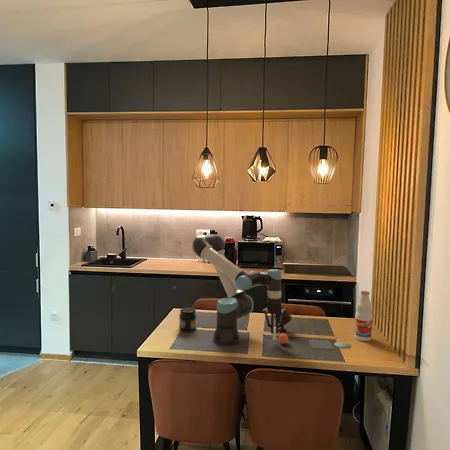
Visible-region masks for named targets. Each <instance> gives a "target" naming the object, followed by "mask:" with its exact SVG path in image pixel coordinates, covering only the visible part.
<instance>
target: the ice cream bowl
mask: <svg viewBox="0 0 450 450" xmlns="http://www.w3.org/2000/svg"><path fill="white" fill-rule="evenodd" d="M282 308H283V309H285V310H286V313H285V314H284V318H283V322H282V326H281V327H279V328H278V333H283V332H284V333H287V331H288V329H286V328H285V325H288V324H289V323H290V322H291V321H292V318H293V316H292V315H291V314H289V311H288V310H287V309H286V308H285V307H282ZM281 311H282V310H281ZM281 311H280V313H279V314H278V324H279V322H280V318H281V314H282V312H281ZM273 320H274V321H276V315H275V314H274V316H273Z"/></svg>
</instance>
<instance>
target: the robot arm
mask: <svg viewBox="0 0 450 450" xmlns="http://www.w3.org/2000/svg"><path fill="white" fill-rule="evenodd" d="M225 245H226V242H225V240H224V237H222V236H221V235H220V234H216V233H211V234H202V235H201V234H200V235H198V236H197V237H195V238H194V239H193V241H192V245H191V246H192V251H193V253H195V255H196V256H198V258H200V259H201V260H205V261H207V262H208V263H210V264H211V265H212V266H213V267H214V269H215V271H216V273H217V275H218V278H219V280H220V282H221V284H222V286H223V288H224V291H225V293H226V295H227V297H223V298H221V299H219V300H218V301H217V303H216V328H215V331H214V333H213V336H212V341H213V342H214V343H215V344H218V345H219V346H220V345H221V346H235V345H237V344H239V343H240V342H241V340H240V339H241V337H240V333H239V329H238V320H239V319H241V318H243V317H247V316H248V315H250V314H251V313H252V312H253V310H254V306H255V305H254V304H255V303H254V299H253V298H252V297H251V295H250V296H249V295H248V294H246V292H245V291H246V290H249V289H252V288H255V287H258V286H265V287H267V306H266V308H263V309H262V313H264V315H265V319H266V324H267V327H268V328H270V333H271V334H272V340H273V341H277V335H278V334H279V332H278V329H280V328H281V326H282V322H283V318H284V314H285V313H286V310H287V309H286V308H285V309H286V310H285V309H283V308H282V279H283V278H282V271H281V270H280V269H276V268H275V269H274V268H271V269H268V270H267V272H266V271H265V272H264V271H259V270H251V271H250V272H245V271H244V270H243V269H241V268H240V267H239V266H237V265H236V264H234V263H233V262H232V261H230V260H229V259H228V258H227V257H226V256H225V252H226V251H225ZM281 310H282V311H281ZM280 311H281V312H282V314H281V318H280V322H279V323H278V314H279V313H280ZM268 313H270V320H269V316H268ZM274 315H276V320H275V326H274Z"/></svg>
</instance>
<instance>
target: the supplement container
mask: <svg viewBox="0 0 450 450" xmlns="http://www.w3.org/2000/svg"><path fill="white" fill-rule="evenodd" d="M179 313H180V314H179V321H178V322H179V327H178V328H179V330H180V331H182V332H193V331H194V330H196V329H197V310H196V308H194V307H183V308H180V309H179Z"/></svg>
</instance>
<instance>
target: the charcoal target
mask: <svg viewBox="0 0 450 450" xmlns="http://www.w3.org/2000/svg"><path fill="white" fill-rule="evenodd" d="M307 341H308V343H309V345H310V347H311V348H312V349H315V350H316V349H318V350H319V349H320V350H335V349H336V348H335V347H334V346H333V343H331V341H330V340H329V339H328V340H326V339H324V340H323V339H308V340H307Z"/></svg>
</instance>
